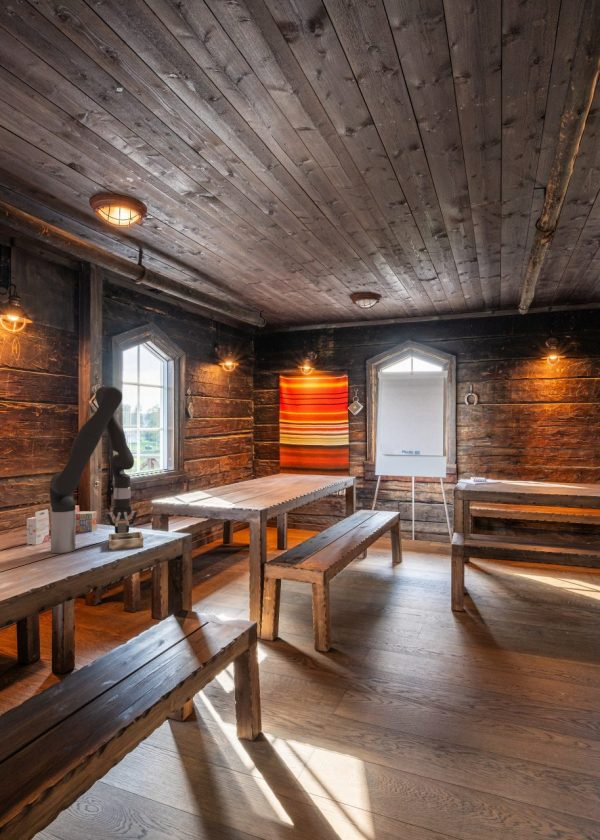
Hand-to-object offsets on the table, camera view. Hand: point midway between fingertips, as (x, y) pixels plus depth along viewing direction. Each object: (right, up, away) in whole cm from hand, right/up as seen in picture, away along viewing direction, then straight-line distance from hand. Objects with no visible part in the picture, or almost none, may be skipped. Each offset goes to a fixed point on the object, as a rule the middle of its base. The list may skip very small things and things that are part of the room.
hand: (122, 533), depth 227 cm
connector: (0, -2, 0) cm, 2 cm away
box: (+6, -3, -11) cm, 12 cm away
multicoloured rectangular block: (-31, -3, +19) cm, 36 cm away
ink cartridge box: (-36, -3, -6) cm, 37 cm away
